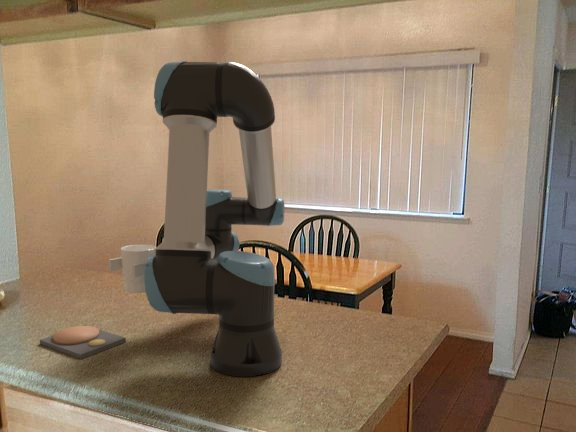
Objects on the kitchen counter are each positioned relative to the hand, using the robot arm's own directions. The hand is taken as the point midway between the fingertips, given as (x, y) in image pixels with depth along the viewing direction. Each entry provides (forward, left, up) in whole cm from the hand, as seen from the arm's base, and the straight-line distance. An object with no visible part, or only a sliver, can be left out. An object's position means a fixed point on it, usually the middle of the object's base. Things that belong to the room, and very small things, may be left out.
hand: (121, 268), depth 116 cm
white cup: (0, -5, -6) cm, 8 cm away
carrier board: (+8, +5, -18) cm, 20 cm away
